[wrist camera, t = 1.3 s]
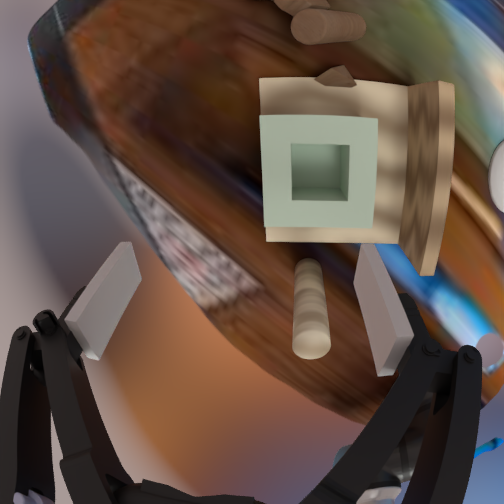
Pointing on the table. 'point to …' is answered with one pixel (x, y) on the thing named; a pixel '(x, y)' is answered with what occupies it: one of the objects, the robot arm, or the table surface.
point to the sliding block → (318, 170)
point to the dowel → (310, 311)
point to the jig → (384, 159)
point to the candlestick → (497, 177)
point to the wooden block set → (324, 32)
